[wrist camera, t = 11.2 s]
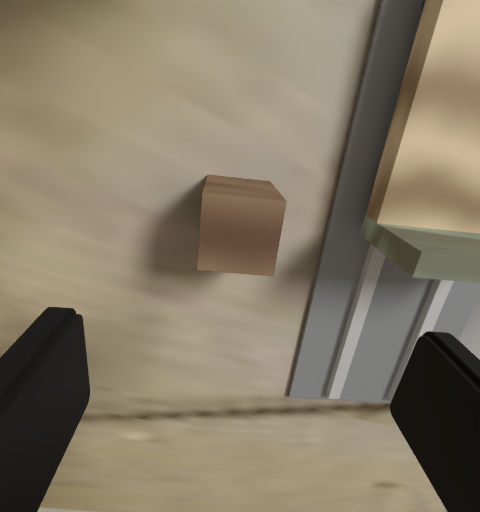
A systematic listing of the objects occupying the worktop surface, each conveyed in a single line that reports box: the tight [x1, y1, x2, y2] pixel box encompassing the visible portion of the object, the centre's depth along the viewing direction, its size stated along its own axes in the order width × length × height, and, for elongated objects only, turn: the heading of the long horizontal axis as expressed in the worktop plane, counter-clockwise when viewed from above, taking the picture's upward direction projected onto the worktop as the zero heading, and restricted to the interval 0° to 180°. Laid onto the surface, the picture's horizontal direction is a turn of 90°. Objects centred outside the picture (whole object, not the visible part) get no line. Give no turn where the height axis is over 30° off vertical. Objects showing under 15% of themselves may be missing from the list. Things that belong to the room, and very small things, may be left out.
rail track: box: [288, 0, 480, 403], centre depth 26 cm, size 42×16×1 cm, turn 173°
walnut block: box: [197, 175, 287, 276], centre depth 22 cm, size 5×5×7 cm
